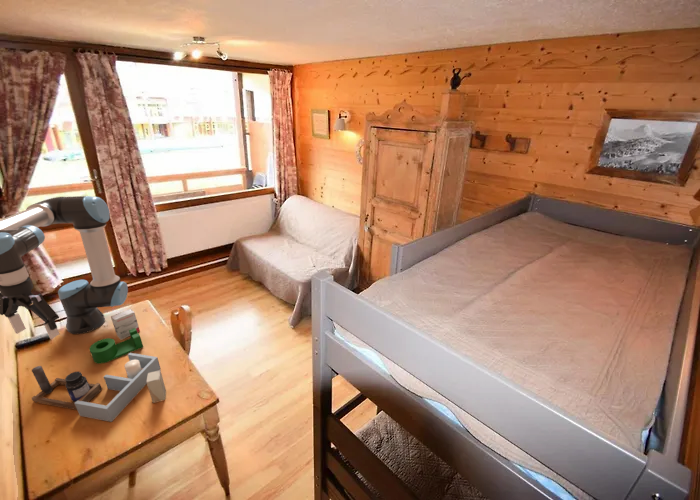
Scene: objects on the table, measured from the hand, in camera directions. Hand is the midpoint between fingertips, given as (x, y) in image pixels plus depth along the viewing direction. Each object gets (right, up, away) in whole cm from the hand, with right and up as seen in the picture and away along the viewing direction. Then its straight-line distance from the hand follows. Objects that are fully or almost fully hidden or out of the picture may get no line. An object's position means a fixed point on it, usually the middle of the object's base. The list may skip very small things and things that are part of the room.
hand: (37, 333), depth 112 cm
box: (+34, -28, +14) cm, 46 cm away
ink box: (0, -12, +45) cm, 47 cm away
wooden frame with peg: (0, -27, +12) cm, 30 cm away
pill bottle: (+6, -28, +12) cm, 31 cm away
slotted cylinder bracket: (+3, -17, +35) cm, 39 cm away
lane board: (+19, -26, +16) cm, 36 cm away
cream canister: (+20, -24, +21) cm, 38 cm away
